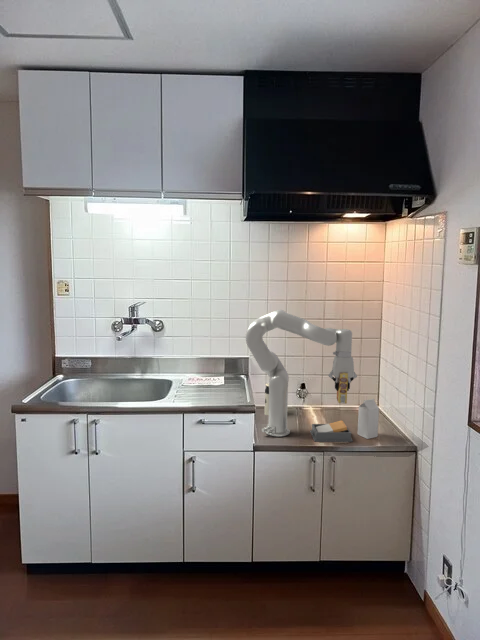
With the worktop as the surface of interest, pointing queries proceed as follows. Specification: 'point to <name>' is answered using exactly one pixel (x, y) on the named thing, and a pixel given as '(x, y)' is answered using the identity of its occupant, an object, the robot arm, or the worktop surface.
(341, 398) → the candy box
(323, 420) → the worktop surface
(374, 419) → the milk carton
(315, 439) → the breaker housing
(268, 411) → the travel mug
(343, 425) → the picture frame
